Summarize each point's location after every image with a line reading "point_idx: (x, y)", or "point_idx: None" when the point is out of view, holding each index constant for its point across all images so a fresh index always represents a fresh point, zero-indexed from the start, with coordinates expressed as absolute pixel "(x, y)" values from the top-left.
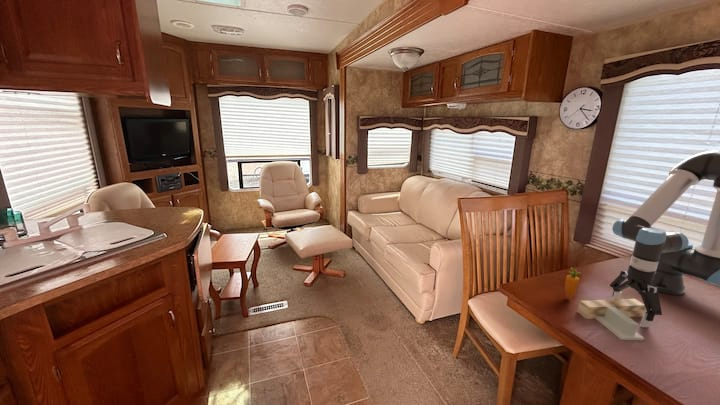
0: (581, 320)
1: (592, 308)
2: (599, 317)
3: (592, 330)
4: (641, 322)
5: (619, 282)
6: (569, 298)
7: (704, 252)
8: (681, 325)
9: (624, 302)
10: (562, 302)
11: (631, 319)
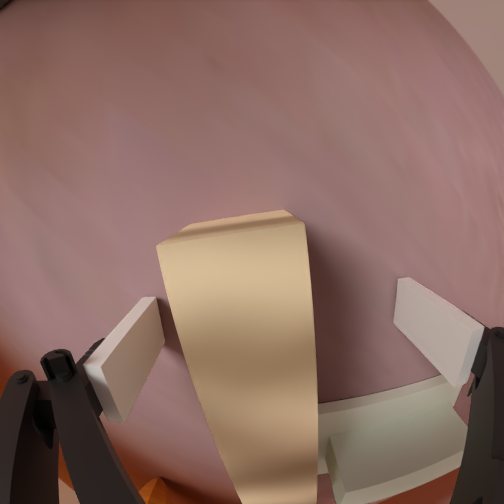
0: None
1: None
2: (319, 469)
3: None
4: (408, 336)
5: (36, 465)
6: (166, 488)
7: None
8: (362, 32)
9: (260, 408)
10: (193, 497)
11: (451, 456)
